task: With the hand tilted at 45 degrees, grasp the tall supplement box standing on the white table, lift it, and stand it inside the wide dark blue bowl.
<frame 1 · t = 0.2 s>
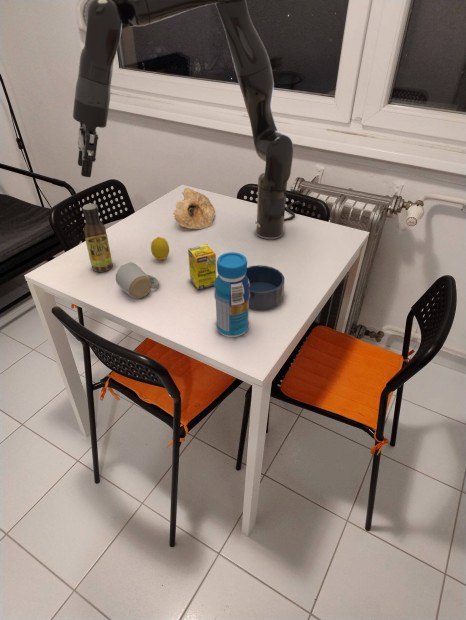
hand: (83, 171, 100), 31 cm above the table, tool tilted 20°, fingers open, 8 cm apart
tan lumpy rounded piece: (195, 221, 146), on the table
ceramic mug: (140, 290, 113), on the table
sauce bottle: (103, 268, 122), on the table
dark blue bowl: (259, 296, 110), on the table
lemon: (161, 260, 125), on the table
supplement box: (203, 284, 115), on the table
beverage bottle: (232, 327, 101), on the table
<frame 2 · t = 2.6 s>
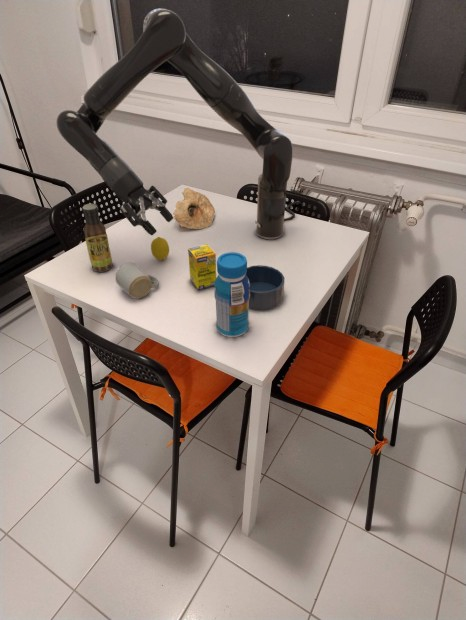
hand: (163, 226, 109), 16 cm above the table, tool tilted 45°, fingers open, 8 cm apart
nothing on the table moved.
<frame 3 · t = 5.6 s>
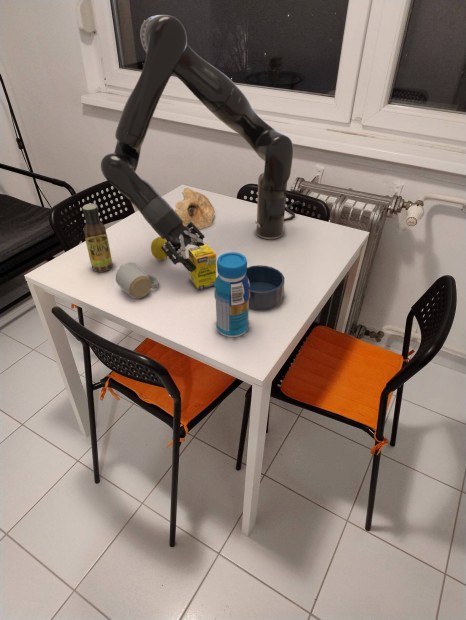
hand: (201, 262, 111), 7 cm above the table, tool tilted 45°, fingers closed on supplement box, 8 cm apart
supplement box: (203, 284, 115), on the table, touching gripper
everything else where it was.
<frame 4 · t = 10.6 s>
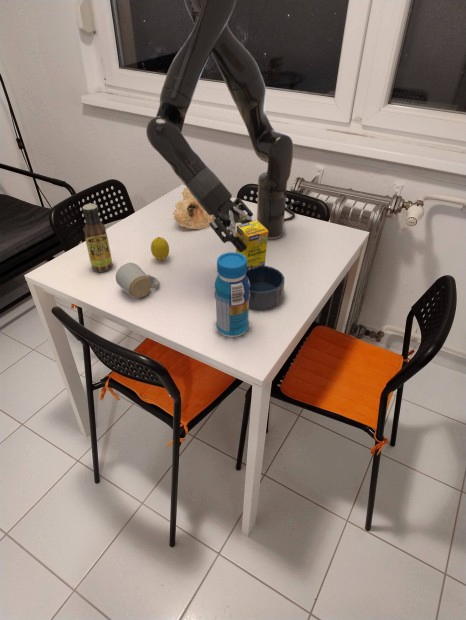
hand: (250, 242, 101), 16 cm above the table, tool tilted 45°, fingers closed on supplement box, 8 cm apart
supplement box: (250, 264, 105), point 10 cm above the table, touching gripper
everything else where it was.
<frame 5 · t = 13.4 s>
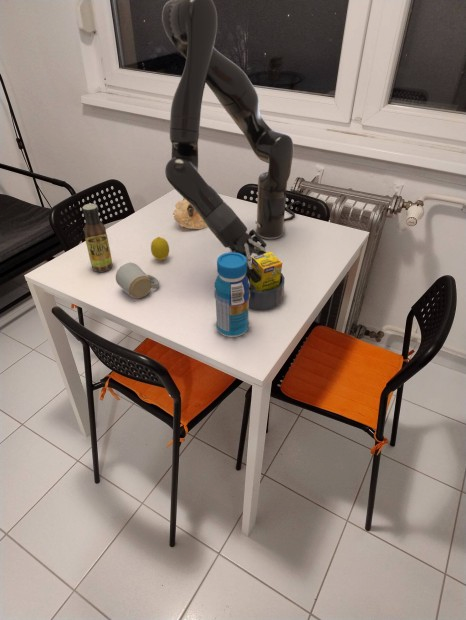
hand: (264, 272, 105), 8 cm above the table, tool tilted 45°, fingers closed on supplement box, 8 cm apart
supplement box: (263, 292, 109), point 1 cm above the table, touching gripper
everything else where it was.
when the fingers open (11 cm above the table, at t = 15.6 s): supplement box drops 3 cm, point 1 cm above the table.
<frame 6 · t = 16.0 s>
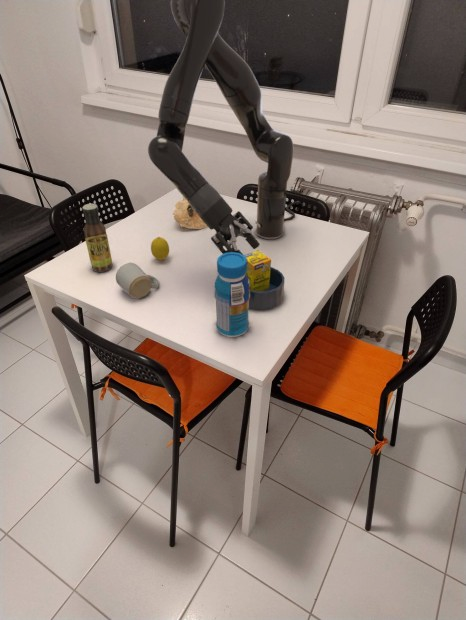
hand: (251, 254, 103), 13 cm above the table, tool tilted 45°, fingers open, 8 cm apart
supplement box: (254, 291, 111), point 1 cm above the table
everything else where it was.
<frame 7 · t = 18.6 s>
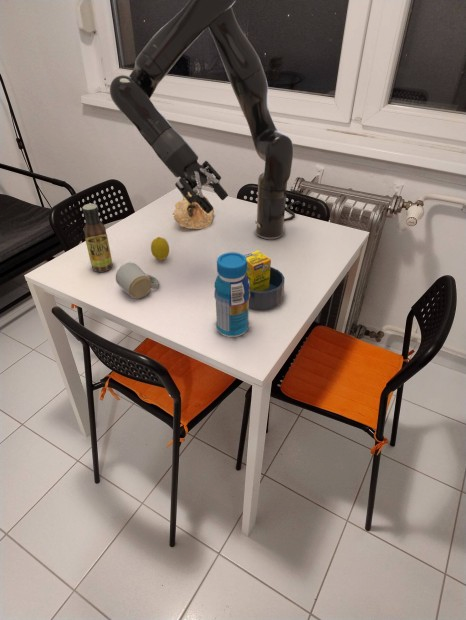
hand: (218, 204, 101), 24 cm above the table, tool tilted 45°, fingers open, 8 cm apart
supplement box: (254, 291, 111), point 1 cm above the table, touching dark blue bowl
everything else where it was.
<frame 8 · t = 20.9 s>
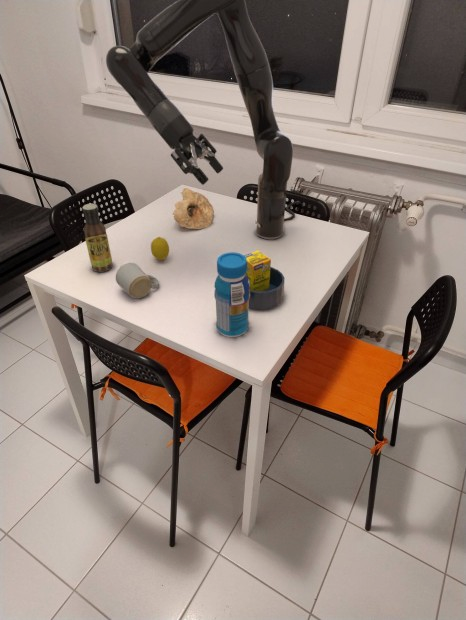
hand: (213, 176, 103), 29 cm above the table, tool tilted 45°, fingers open, 8 cm apart
nothing on the table moved.
at the end: supplement box 1.9 cm off-centre in the dark blue bowl, point 0.6 cm above the dark blue bowl's base; supplement box tilted 0°; the gripper is holding nothing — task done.
